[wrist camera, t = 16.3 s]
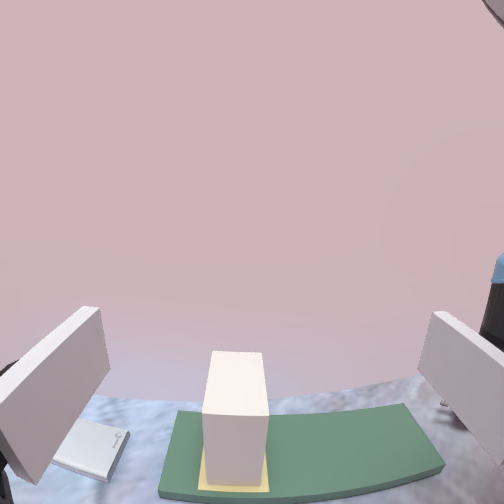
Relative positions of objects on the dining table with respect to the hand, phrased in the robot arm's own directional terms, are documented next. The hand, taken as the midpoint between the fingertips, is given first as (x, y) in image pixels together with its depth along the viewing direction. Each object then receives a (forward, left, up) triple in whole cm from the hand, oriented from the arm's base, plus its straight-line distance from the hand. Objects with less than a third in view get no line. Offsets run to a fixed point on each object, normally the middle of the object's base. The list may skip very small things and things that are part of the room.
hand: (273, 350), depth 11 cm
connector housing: (+1, -13, -20) cm, 24 cm away
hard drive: (+20, -11, -23) cm, 32 cm away
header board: (-7, -13, -22) cm, 26 cm away
